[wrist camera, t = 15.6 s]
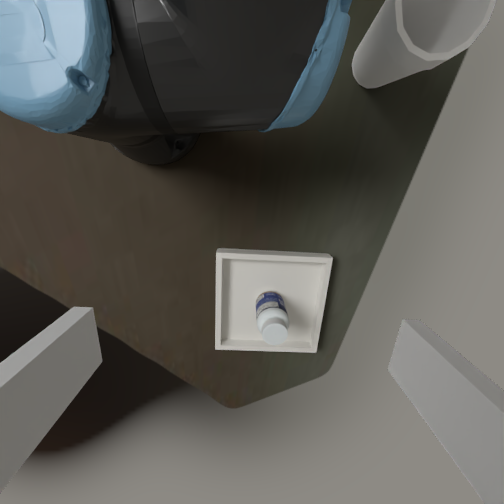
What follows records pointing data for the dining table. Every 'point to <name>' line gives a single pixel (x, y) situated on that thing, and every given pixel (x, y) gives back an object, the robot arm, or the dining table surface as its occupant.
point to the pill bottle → (272, 317)
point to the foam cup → (417, 37)
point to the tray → (277, 279)
